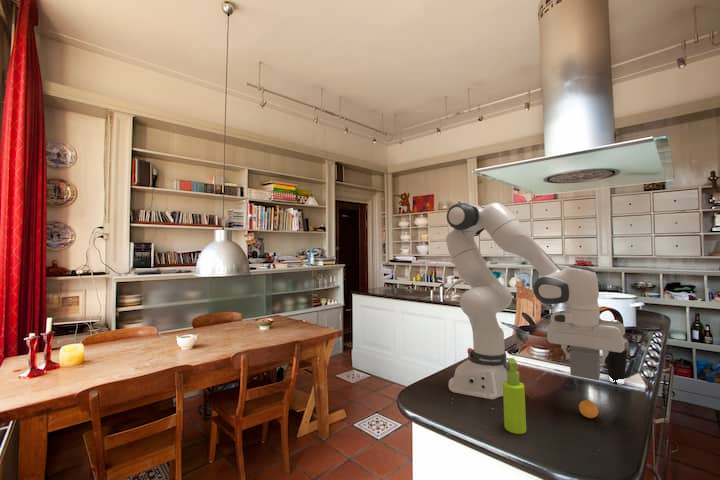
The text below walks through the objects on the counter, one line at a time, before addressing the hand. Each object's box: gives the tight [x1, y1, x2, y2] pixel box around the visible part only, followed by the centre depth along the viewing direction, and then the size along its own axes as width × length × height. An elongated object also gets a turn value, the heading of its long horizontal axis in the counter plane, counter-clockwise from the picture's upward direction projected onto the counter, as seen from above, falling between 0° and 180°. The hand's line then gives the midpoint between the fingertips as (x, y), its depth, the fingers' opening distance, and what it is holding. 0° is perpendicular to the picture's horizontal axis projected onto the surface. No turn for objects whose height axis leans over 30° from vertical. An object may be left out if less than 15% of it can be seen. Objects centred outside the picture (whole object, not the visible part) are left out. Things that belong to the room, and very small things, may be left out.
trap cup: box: [568, 346, 602, 381], centre depth 108 cm, size 7×7×8 cm
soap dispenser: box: [502, 357, 527, 435], centre depth 102 cm, size 6×7×20 cm
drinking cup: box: [605, 345, 629, 386], centre depth 131 cm, size 8×8×20 cm
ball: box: [578, 399, 599, 419], centre depth 106 cm, size 5×5×5 cm
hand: (584, 361), depth 107 cm, fingers closed on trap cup, 7 cm apart
